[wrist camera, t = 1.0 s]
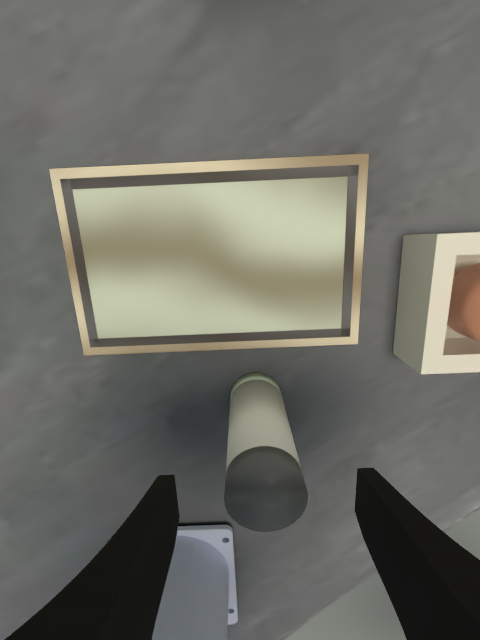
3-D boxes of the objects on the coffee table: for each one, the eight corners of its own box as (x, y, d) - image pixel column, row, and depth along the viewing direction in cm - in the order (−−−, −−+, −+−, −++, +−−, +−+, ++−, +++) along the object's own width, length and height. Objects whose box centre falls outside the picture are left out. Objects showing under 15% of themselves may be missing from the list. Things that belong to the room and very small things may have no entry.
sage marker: (280, 416, 20) (307, 530, 12) (232, 418, 20) (226, 533, 12) (280, 371, 19) (308, 461, 11) (229, 373, 19) (221, 465, 11)
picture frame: (352, 339, 18) (358, 344, 18) (90, 350, 19) (83, 355, 18) (362, 157, 16) (369, 153, 15) (58, 172, 16) (47, 168, 15)
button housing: (507, 348, 19) (557, 368, 16) (392, 353, 19) (420, 374, 16) (530, 229, 17) (591, 227, 14) (403, 235, 17) (437, 234, 14)
